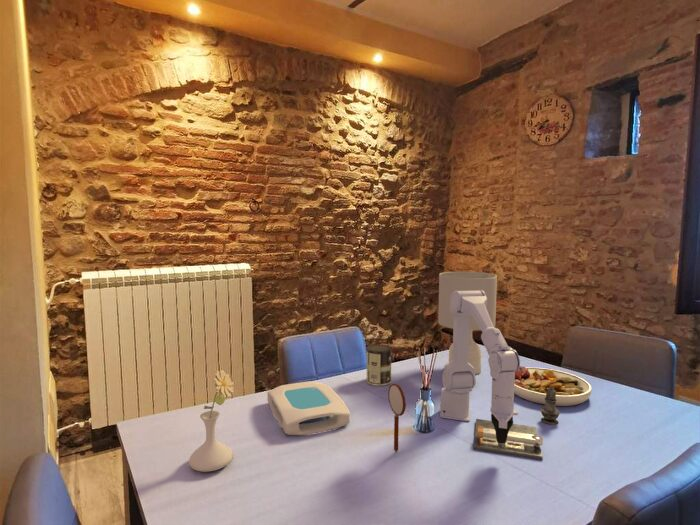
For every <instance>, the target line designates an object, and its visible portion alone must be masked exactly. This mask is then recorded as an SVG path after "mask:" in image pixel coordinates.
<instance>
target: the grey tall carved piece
mask: <svg viewBox="0 0 700 525" xmlns="http://www.w3.org/2000/svg"><path fill="white" fill-rule="evenodd" d="M556 401H557V400H556V391H555V390H554V389H553V388H552V386H550V388H548V389H547V390H546V398H545V404H544V406H542V407H541V408H540V409H539V410H540V412H541V415H542V417H541V418H540V421H541V422H542V423H544V424H546V425H550V426H557V425H558V424H559V421H558V420H557V419H559V418H558V417H559V415H560V414H561V412H560V410H558V408H557V406H555V405H556Z"/></svg>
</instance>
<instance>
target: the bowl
mask: <svg viewBox="0 0 700 525" xmlns="http://www.w3.org/2000/svg"><path fill="white" fill-rule="evenodd" d="M514 372H515V383H514V395H516V396H518V397H520V398H522V399H524V400H527V401H529V402H533V403H536V404H540V405H545V398H546V390H547V389H548V388H550V386H552V388H553V389H554V390H555V391H556V400H557V401H556V405H555V406H556V407H570V406H576V405H581V404H583V403H584V402H586V401H587V400H588V399H589V398H590V396H591V394H592V385H591V384H590V383H589V382H588V381H586V379H584V378H581V377H579V376H577V375H575V374H572V373H569V372H565V371H562V370H557V369H550V368H544V367H525V366H521V365H520V367H519V369H518V371H514Z"/></svg>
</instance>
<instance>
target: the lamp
mask: <svg viewBox="0 0 700 525" xmlns="http://www.w3.org/2000/svg"><path fill="white" fill-rule="evenodd" d="M497 283H498V275H497V274H493V273H487V272H478V271H445V272H440V273H439V275H438V315H437V316H438V318H437V319H438V321H437V323H438V325H440V326H442V327H444V328H448V329H453V326H454V314H453V313H451V312H450V297H451V295H452V293H453V292H454V291H476V290H483V291H484V293H485V294H486V297H487V307H486V309H487V311H488V314H489V316H490V319H491V321H492V324H493V326H494V328H496V316H497V314H496V313H497V290H498V289H497V288H498V287H497V285H498V284H497ZM474 331H476V332H478V331H481V329H480V327H479V326H478V324H477V323H476V321H475V319H474V318H473V316H472V315H471V316H470V317H469V343H468V363H469V364H471V365H472V366H473V367H474V371H475V376H476V375H479V374H480V373H481V372H482V357H483V355H482V353H483V352H482V349H481V347H480V345H479V344H478V343H477V342H475V340H474V338H473V332H474ZM452 360H453V342H452V343H451V344H450V346H449V349H448V363H449V362H450V361H452Z"/></svg>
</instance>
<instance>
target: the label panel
mask: <svg viewBox="0 0 700 525" xmlns="http://www.w3.org/2000/svg"><path fill="white" fill-rule="evenodd" d="M478 426H483V428H489V429H495V428H494V425H493V423H492V421H491V420H487V419H481V418H480V419H479V418H476V419H475V432H474V433H475V434H474V446H473V447H474V448H473V449H474V450H476V451H483V452H488V453H489V452H490V453H496V454H503V455H509V456H515V457H521V458H527V459H528V458H529V459H535V460H538V461H539V460H541V461H542V460H543V457H544V456H543V452H542V448H541V445H532V444H525V443H518V442H512V441H506V443H505V444H503V443H498V442H497V439H491V438H485V437H483V438H477V434H478ZM509 431H510V432H517V433H524V434H531V435H538V431H537V426H531V425H525V424H517V423H513V425H512V426H511V428H510V430H509ZM538 436H539V435H538Z"/></svg>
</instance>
